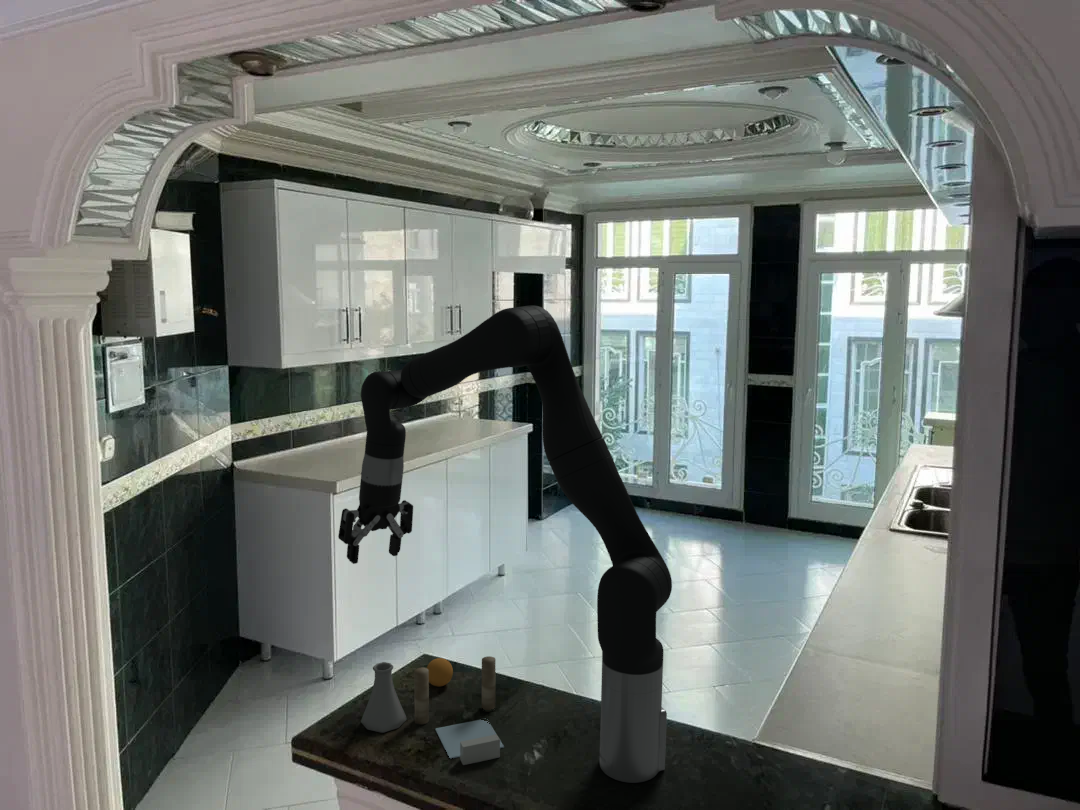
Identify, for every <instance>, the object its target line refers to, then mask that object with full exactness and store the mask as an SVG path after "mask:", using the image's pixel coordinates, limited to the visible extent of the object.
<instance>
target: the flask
mask: <svg viewBox="0 0 1080 810" xmlns="http://www.w3.org/2000/svg"><path fill="white" fill-rule="evenodd" d="M393 669H394V665H393V664H392V663H391V662H386V661H382V662H378V663H376V664H375V665H373V666H372V670H373V671H374V682H373V687H372V690H371V693H370V697H369V699H368V702H367V705H366V707H365V710H364V712H363V714H362V718H361V721H360V722H361V724H362V725H363V727H365V729H366V730H368V731H373V732H378V733H381V734H383V733H386V732H389V731H392V730H396V729H399V728H400V727H401V726H402V725H403V724H404V723H405V722H406V721H407V720H408V718H407V716H406V713H405V711H404V709H403V707H402V705H401V702H400V699H399V697H398V694H397V692H396V689H395V685H394V681H393V676H392V675H393V674H392V671H393Z"/></svg>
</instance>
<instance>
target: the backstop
mask: <svg viewBox="0 0 1080 810" xmlns="http://www.w3.org/2000/svg"><path fill="white" fill-rule="evenodd" d="M500 741H501V739H500V737H499V736H498V734H497V733H496V734H495V735H491V736H486V737H481V738H476V739H471V740H466V741H461V742H460V757H459V760H460V762H461V764H462V765H463V766H466V765H471V764H476V763H480V762H485V761H488V760H493V759H498V758H500V757H501V748H500Z"/></svg>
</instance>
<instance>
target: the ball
mask: <svg viewBox="0 0 1080 810" xmlns="http://www.w3.org/2000/svg"><path fill="white" fill-rule="evenodd" d="M426 668H427V669H428V670H429V684H431V685H432V686H433V687H443V686H445V685H448V683H449V682H451V680H452V678H453V675H454V670H453V666H452V664H451V662H450V660H448V659H445V658H443V657H437V658H434V659H432V660H431V661H430V662H428V664H427V666H426Z"/></svg>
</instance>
